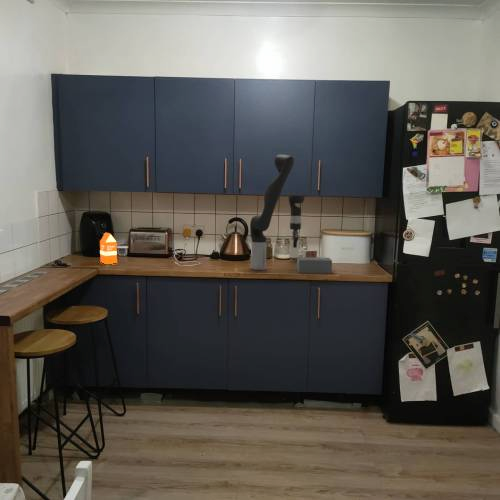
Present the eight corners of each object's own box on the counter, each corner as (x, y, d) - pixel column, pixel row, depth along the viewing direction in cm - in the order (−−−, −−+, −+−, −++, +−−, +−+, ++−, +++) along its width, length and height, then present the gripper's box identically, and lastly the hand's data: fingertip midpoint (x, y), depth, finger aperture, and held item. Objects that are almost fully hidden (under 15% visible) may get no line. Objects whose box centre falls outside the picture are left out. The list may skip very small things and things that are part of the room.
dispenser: (298, 273, 279) (299, 259, 277) (296, 269, 289) (297, 256, 287) (331, 273, 279) (332, 259, 278) (328, 270, 289) (328, 256, 288)
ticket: (289, 257, 317) (290, 237, 315) (289, 257, 319) (290, 237, 316) (298, 257, 317) (299, 238, 315) (298, 257, 319) (299, 238, 317)
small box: (305, 266, 299) (305, 250, 297) (301, 265, 304) (302, 249, 303) (316, 266, 301) (317, 250, 300) (313, 264, 306) (313, 249, 305)
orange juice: (105, 265, 293) (104, 234, 290) (100, 263, 299) (99, 232, 296) (117, 263, 298) (116, 233, 294) (111, 261, 304) (111, 231, 301)
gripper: (289, 221, 321) (288, 245, 323) (291, 223, 307) (290, 248, 310) (299, 221, 321) (298, 246, 324) (302, 223, 308) (301, 248, 310)
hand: (294, 247), depth 317 cm, fingers closed on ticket, 1 cm apart
